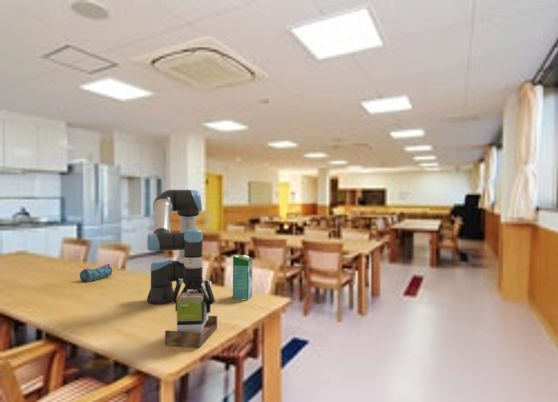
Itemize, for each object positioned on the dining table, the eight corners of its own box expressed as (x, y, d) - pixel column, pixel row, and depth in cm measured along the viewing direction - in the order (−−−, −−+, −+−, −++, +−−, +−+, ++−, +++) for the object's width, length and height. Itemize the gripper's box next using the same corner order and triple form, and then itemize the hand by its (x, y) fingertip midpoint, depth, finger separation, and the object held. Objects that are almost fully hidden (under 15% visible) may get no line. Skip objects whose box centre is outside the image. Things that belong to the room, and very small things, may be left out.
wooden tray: (165, 345, 129) (165, 331, 129) (187, 326, 149) (187, 314, 149) (199, 348, 126) (199, 333, 127) (217, 328, 147) (217, 315, 147)
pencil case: (88, 283, 229) (88, 269, 229) (79, 282, 232) (79, 268, 232) (112, 277, 249) (112, 264, 249) (103, 276, 252) (103, 263, 252)
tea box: (184, 321, 145) (184, 287, 145) (207, 320, 146) (207, 286, 146) (176, 334, 130) (176, 296, 130) (202, 334, 131) (202, 296, 131)
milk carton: (247, 300, 189) (248, 256, 189) (232, 299, 191) (233, 256, 191) (252, 296, 198) (252, 254, 198) (237, 295, 200) (238, 253, 200)
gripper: (162, 267, 136) (162, 321, 136) (217, 269, 132) (216, 324, 132) (171, 264, 143) (170, 315, 143) (223, 266, 140) (222, 318, 140)
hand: (192, 319), depth 138 cm, fingers closed on tea box, 11 cm apart
